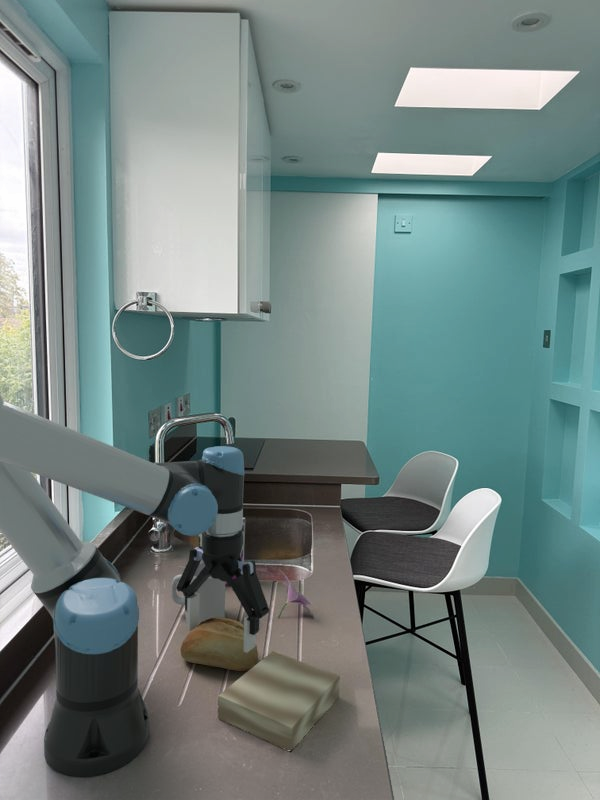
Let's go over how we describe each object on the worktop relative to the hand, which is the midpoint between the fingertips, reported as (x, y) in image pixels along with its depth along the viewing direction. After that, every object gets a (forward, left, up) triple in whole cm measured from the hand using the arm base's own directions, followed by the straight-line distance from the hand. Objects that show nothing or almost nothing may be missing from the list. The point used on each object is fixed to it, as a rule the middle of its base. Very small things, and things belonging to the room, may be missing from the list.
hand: (220, 638), depth 110 cm
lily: (+24, -2, -5) cm, 25 cm away
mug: (+11, +15, -5) cm, 19 cm away
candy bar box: (+28, +22, -5) cm, 36 cm away
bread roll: (0, 0, -5) cm, 5 cm away
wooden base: (-5, -17, -5) cm, 18 cm away
